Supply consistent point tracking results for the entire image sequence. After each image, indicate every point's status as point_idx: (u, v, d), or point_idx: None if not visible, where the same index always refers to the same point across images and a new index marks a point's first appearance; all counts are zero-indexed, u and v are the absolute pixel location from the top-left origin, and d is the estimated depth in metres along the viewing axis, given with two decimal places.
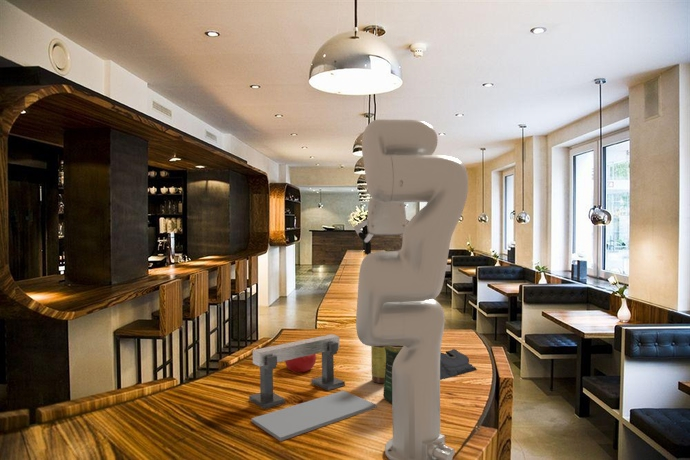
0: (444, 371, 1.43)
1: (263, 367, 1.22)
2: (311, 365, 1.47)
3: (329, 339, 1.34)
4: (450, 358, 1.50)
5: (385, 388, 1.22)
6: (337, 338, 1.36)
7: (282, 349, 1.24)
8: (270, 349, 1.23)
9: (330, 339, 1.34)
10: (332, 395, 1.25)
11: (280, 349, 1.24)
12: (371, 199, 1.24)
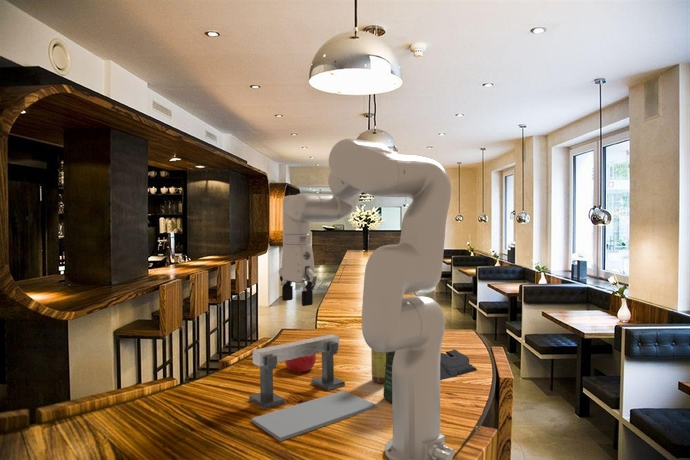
0: (444, 371, 1.42)
1: (263, 367, 1.22)
2: (311, 365, 1.47)
3: (329, 339, 1.34)
4: (450, 358, 1.49)
5: (385, 388, 1.22)
6: (337, 338, 1.36)
7: (282, 349, 1.24)
8: (270, 349, 1.23)
9: (330, 339, 1.34)
10: (332, 395, 1.25)
11: (280, 349, 1.24)
12: (311, 247, 1.27)
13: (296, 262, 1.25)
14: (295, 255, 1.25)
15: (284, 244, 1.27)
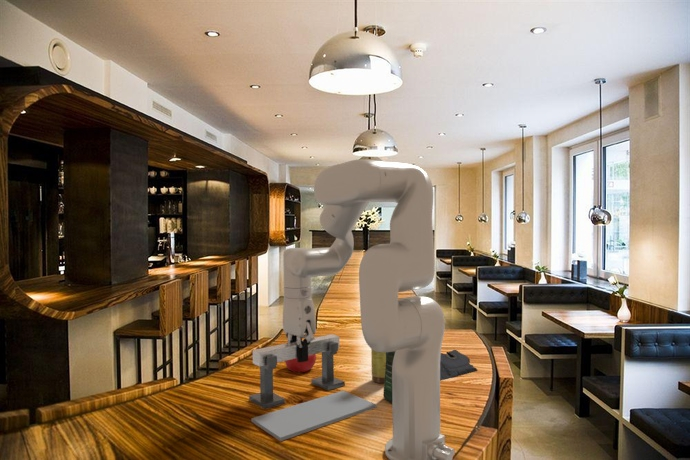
0: (444, 372, 1.42)
1: (263, 367, 1.22)
2: (311, 365, 1.47)
3: (329, 339, 1.34)
4: (451, 359, 1.49)
5: (385, 388, 1.22)
6: (337, 338, 1.36)
7: (282, 349, 1.24)
8: (270, 349, 1.23)
9: (330, 339, 1.34)
10: (332, 395, 1.25)
11: (280, 349, 1.24)
12: (312, 300, 1.27)
13: (297, 316, 1.25)
14: (296, 309, 1.25)
15: (285, 297, 1.27)
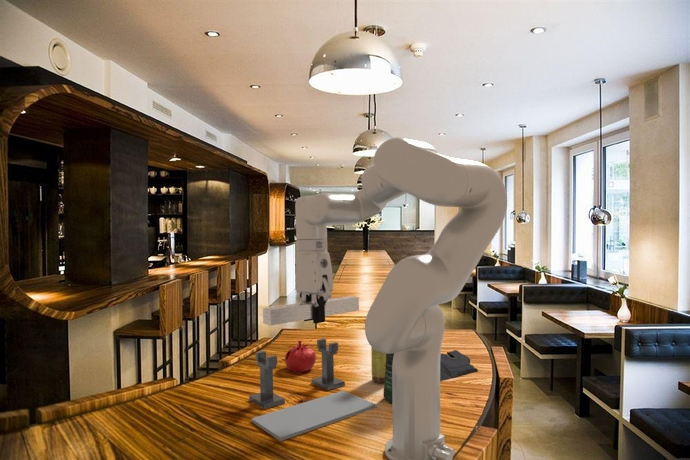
0: (445, 372, 1.41)
1: (263, 367, 1.22)
2: (311, 365, 1.47)
3: (347, 299, 1.20)
4: (451, 359, 1.49)
5: (385, 388, 1.22)
6: (356, 299, 1.22)
7: (296, 307, 1.10)
8: (282, 307, 1.09)
9: (349, 299, 1.20)
10: (332, 395, 1.25)
11: (294, 307, 1.10)
12: (328, 253, 1.13)
13: (312, 270, 1.11)
14: (311, 262, 1.12)
15: (298, 251, 1.13)
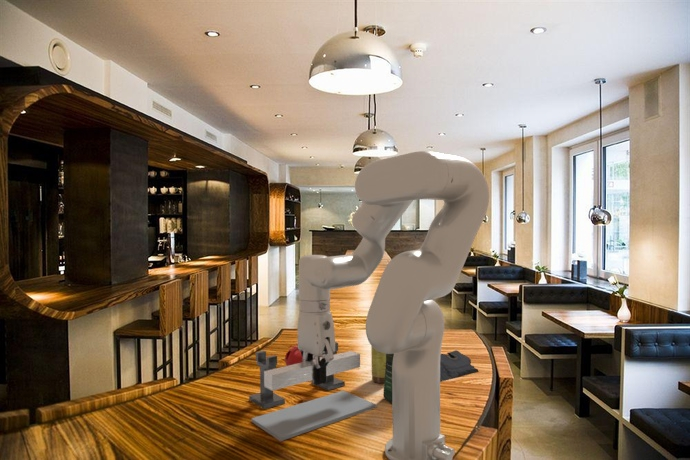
0: (445, 372, 1.41)
1: (263, 367, 1.22)
2: None
3: (349, 357, 1.19)
4: (451, 359, 1.48)
5: (385, 388, 1.22)
6: (358, 356, 1.21)
7: (297, 370, 1.09)
8: (284, 370, 1.08)
9: (350, 357, 1.19)
10: (332, 395, 1.25)
11: (295, 370, 1.09)
12: (331, 315, 1.12)
13: (315, 332, 1.10)
14: (314, 324, 1.10)
15: (301, 311, 1.12)
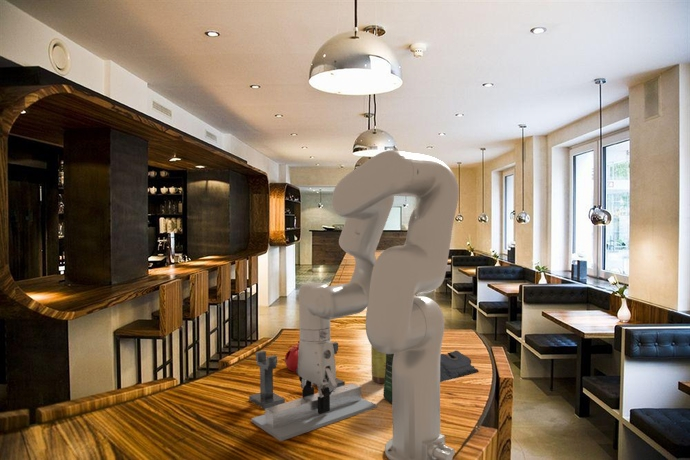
0: (445, 373, 1.41)
1: (263, 367, 1.22)
2: None
3: (350, 391, 1.19)
4: (452, 360, 1.48)
5: (385, 388, 1.22)
6: (358, 389, 1.21)
7: (298, 407, 1.09)
8: (285, 407, 1.08)
9: (351, 391, 1.19)
10: None
11: (296, 407, 1.09)
12: (331, 343, 1.12)
13: (315, 361, 1.10)
14: (314, 353, 1.11)
15: (301, 340, 1.12)
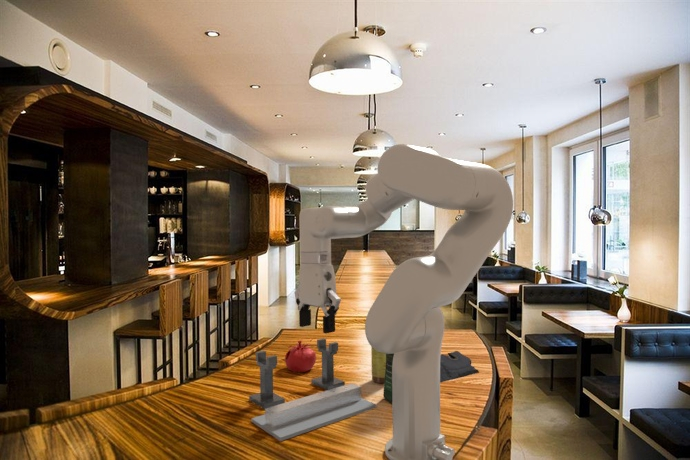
0: (445, 373, 1.40)
1: (263, 367, 1.22)
2: (311, 365, 1.47)
3: (350, 391, 1.19)
4: (452, 360, 1.48)
5: (385, 388, 1.22)
6: (358, 389, 1.21)
7: (298, 407, 1.09)
8: (285, 407, 1.08)
9: (351, 391, 1.19)
10: None
11: (296, 407, 1.09)
12: (332, 266, 1.12)
13: (316, 283, 1.10)
14: (315, 275, 1.11)
15: (302, 263, 1.12)
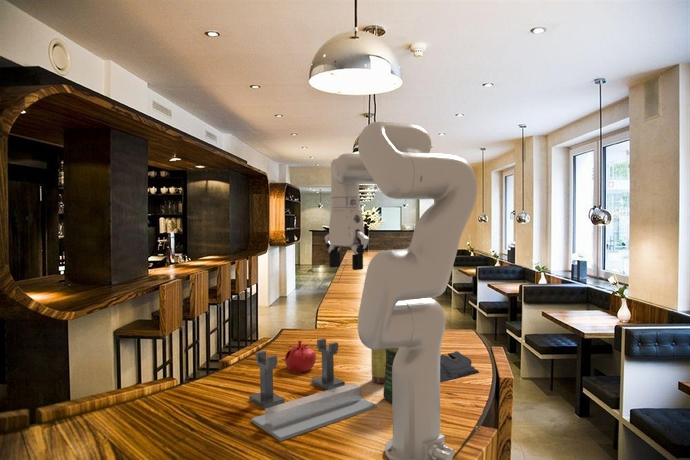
0: (445, 374, 1.40)
1: (263, 367, 1.22)
2: (311, 365, 1.47)
3: (350, 391, 1.19)
4: (452, 360, 1.47)
5: (385, 388, 1.22)
6: (358, 389, 1.21)
7: (298, 407, 1.09)
8: (285, 407, 1.08)
9: (351, 391, 1.19)
10: None
11: (296, 407, 1.09)
12: (360, 210, 1.24)
13: (346, 225, 1.23)
14: (345, 218, 1.23)
15: (333, 208, 1.24)
